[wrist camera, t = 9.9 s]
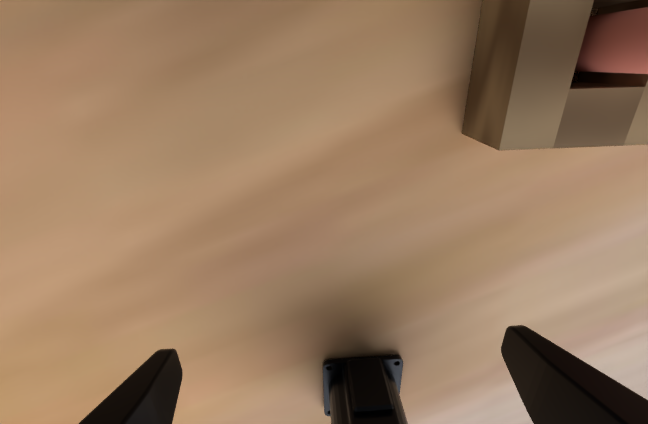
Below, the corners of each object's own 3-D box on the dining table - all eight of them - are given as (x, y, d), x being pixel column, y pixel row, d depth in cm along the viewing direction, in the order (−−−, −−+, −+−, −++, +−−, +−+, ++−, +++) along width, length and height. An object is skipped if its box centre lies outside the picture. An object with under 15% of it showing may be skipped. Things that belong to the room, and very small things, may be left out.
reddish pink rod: (570, 69, 18) (789, 76, 10) (528, 70, 18) (715, 78, 10) (583, 20, 17) (839, -18, 9) (539, 21, 17) (758, -16, 9)
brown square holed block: (606, 128, 20) (675, 143, 16) (461, 133, 19) (499, 150, 16) (669, -58, 16) (778, -93, 12) (491, -57, 16) (549, -93, 12)
